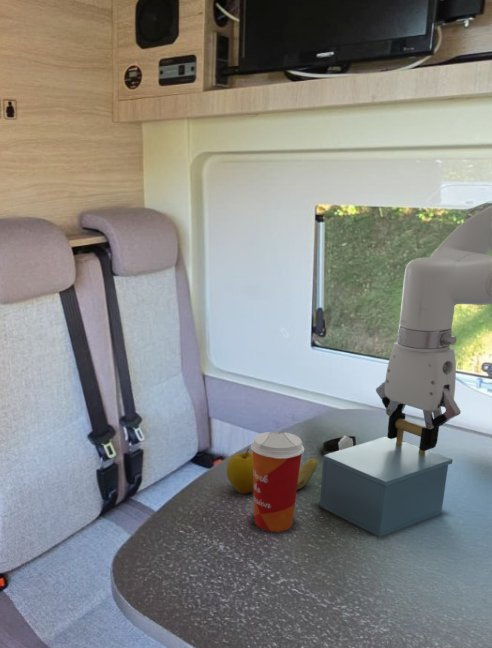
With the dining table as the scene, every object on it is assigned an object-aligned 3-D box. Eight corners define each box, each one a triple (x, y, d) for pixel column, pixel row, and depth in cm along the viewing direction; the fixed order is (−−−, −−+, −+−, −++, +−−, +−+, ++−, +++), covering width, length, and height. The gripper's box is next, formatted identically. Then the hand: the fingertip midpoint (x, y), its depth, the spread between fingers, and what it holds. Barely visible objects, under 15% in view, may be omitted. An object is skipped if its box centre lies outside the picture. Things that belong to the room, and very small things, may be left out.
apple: (256, 482, 134) (258, 442, 131) (266, 497, 128) (268, 456, 125) (222, 484, 134) (223, 444, 131) (230, 499, 128) (231, 458, 125)
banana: (307, 474, 136) (309, 455, 135) (320, 478, 134) (321, 458, 133) (281, 493, 129) (282, 473, 128) (294, 497, 128) (295, 476, 126)
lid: (387, 439, 127) (390, 410, 126) (452, 463, 117) (456, 431, 115) (323, 459, 121) (325, 428, 119) (385, 486, 110) (388, 453, 108)
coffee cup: (247, 510, 124) (250, 429, 119) (296, 512, 122) (302, 430, 117) (248, 534, 116) (251, 448, 111) (301, 537, 115) (307, 450, 109)
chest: (379, 486, 130) (383, 441, 127) (441, 513, 120) (448, 465, 117) (319, 506, 124) (323, 459, 121) (379, 537, 113) (385, 486, 110)
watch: (333, 458, 143) (335, 441, 141) (316, 450, 147) (317, 434, 145) (361, 449, 146) (363, 433, 145) (343, 442, 150) (344, 426, 148)
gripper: (490, 344, 109) (473, 454, 115) (394, 324, 123) (384, 423, 129) (457, 352, 106) (441, 465, 112) (363, 331, 120) (354, 432, 126)
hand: (411, 441), depth 120 cm, fingers closed on lid, 5 cm apart
